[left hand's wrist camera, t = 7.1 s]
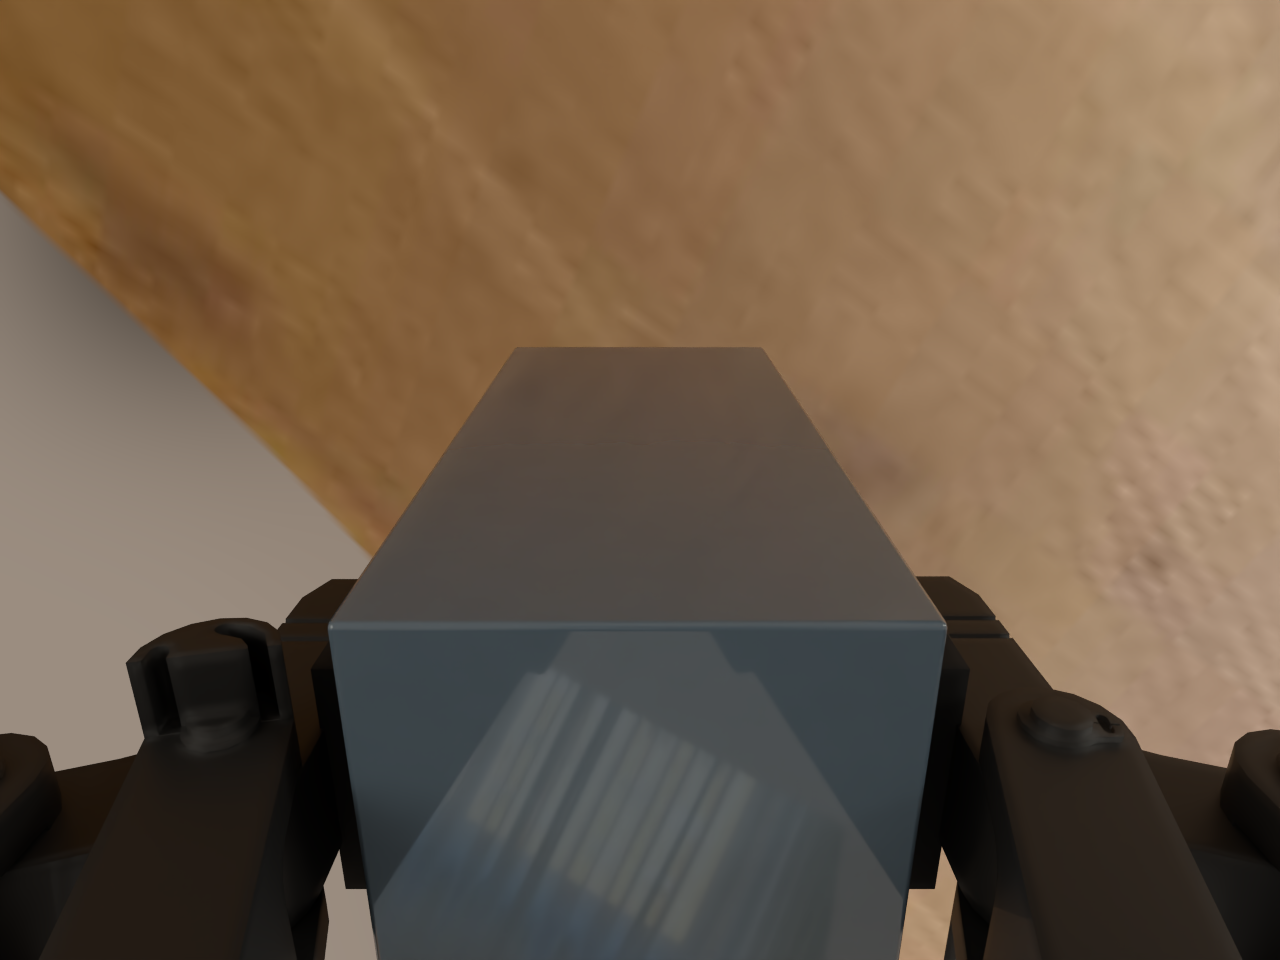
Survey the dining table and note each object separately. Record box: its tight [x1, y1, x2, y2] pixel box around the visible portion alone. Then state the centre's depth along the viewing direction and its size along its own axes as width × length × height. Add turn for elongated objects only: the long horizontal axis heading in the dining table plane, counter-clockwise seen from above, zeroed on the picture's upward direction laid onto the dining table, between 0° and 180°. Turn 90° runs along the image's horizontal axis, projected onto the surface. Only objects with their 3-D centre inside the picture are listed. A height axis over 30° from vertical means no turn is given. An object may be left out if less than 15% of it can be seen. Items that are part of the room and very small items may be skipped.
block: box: [327, 347, 948, 960], centre depth 12 cm, size 5×5×10 cm
